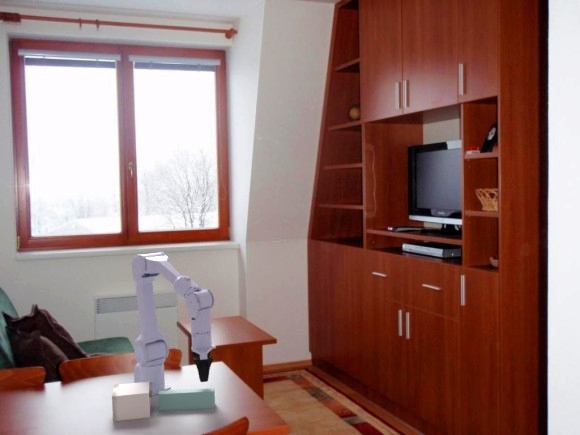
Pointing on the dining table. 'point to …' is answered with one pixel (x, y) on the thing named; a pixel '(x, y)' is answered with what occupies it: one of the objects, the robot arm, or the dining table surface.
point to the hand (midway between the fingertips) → (203, 377)
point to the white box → (132, 401)
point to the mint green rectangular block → (186, 399)
